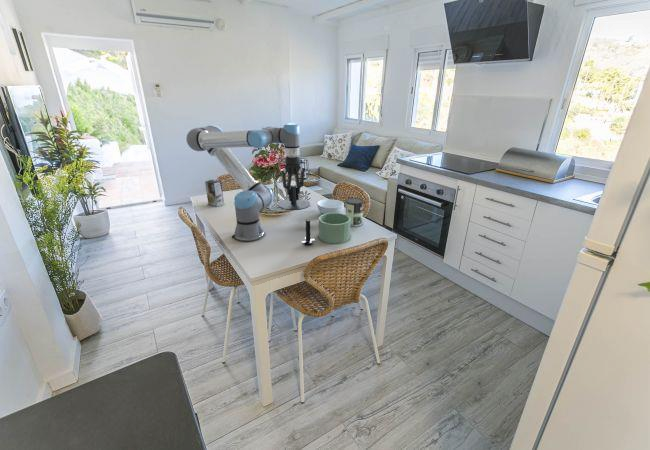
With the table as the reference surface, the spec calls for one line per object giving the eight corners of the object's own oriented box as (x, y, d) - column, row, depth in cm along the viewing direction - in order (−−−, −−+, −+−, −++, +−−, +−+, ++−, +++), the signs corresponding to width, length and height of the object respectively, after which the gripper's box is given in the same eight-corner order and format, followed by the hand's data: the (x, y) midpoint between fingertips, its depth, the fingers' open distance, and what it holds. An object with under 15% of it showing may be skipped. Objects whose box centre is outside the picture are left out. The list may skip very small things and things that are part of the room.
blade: (304, 247, 156) (303, 223, 151) (299, 242, 162) (298, 218, 157) (317, 245, 159) (317, 221, 154) (311, 239, 165) (311, 216, 160)
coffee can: (362, 220, 190) (364, 198, 184) (361, 227, 181) (362, 204, 175) (346, 219, 192) (346, 197, 186) (343, 225, 182) (344, 202, 177)
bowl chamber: (327, 245, 158) (327, 226, 154) (313, 233, 172) (313, 215, 168) (355, 239, 165) (356, 221, 161) (340, 228, 179) (341, 211, 175)
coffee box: (224, 204, 214) (221, 181, 208) (217, 206, 209) (213, 183, 203) (215, 201, 219) (212, 179, 212) (207, 204, 214) (204, 181, 207)
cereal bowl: (342, 219, 191) (342, 208, 188) (315, 217, 193) (315, 206, 190) (344, 209, 206) (345, 199, 204) (319, 208, 209) (319, 198, 206)
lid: (283, 213, 157) (282, 192, 153) (273, 202, 172) (272, 183, 168) (315, 208, 164) (315, 187, 160) (303, 198, 179) (302, 179, 175)
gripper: (279, 158, 151) (281, 204, 161) (310, 156, 158) (310, 200, 167) (274, 155, 158) (277, 200, 167) (304, 153, 164) (305, 196, 173)
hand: (293, 200), depth 167 cm, fingers closed on lid, 3 cm apart
